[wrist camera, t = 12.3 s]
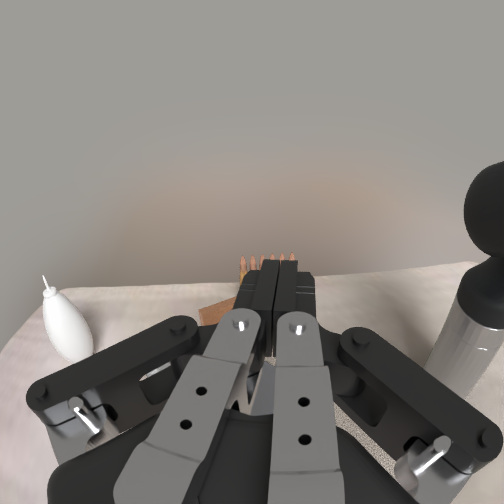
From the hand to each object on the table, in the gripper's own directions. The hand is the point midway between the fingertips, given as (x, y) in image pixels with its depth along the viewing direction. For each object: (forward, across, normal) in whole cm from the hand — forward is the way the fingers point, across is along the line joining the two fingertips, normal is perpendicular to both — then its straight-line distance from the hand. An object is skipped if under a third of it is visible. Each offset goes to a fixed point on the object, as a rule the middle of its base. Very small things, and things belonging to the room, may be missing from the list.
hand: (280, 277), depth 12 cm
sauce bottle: (+12, +35, +28) cm, 47 cm away
